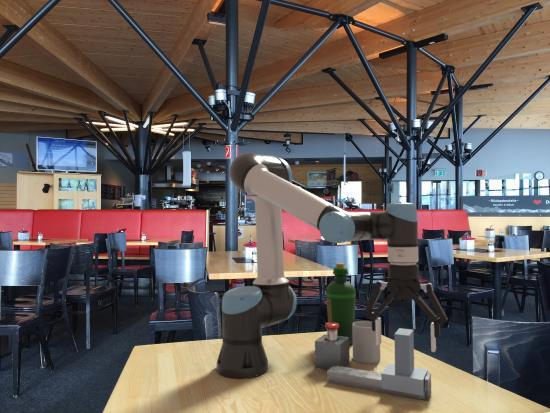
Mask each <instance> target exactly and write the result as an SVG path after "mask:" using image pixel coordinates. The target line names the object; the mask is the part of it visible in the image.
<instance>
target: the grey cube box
mask: <svg viewBox="0 0 550 413" xmlns="http://www.w3.org/2000/svg"><path fill="white" fill-rule="evenodd" d="M350 357H351V356H350V345H349V337H343V336H337V342H334V341H327V333H326V334H325V333H324V334H322V335H321V336H320V337H319V338H317V339H316V340H314V364H315V365H314V369H318V370H325V371H328V370H329V369H330V368H331V367H332V366H333V365H335V366H341V367H347V368H348V366H349V365H350Z"/></svg>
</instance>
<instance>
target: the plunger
mask: <svg viewBox="0 0 550 413" xmlns="http://www.w3.org/2000/svg"><path fill="white" fill-rule="evenodd" d="M324 326H325V329H326V334H327V341H334V342H337V329H338V328H339V324H338V323H334V322H329V323H328V322H325V325H324Z"/></svg>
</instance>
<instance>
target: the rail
mask: <svg viewBox="0 0 550 413" xmlns="http://www.w3.org/2000/svg"><path fill="white" fill-rule="evenodd" d="M326 373H327V374H326V377H327V378H326V379H327V380H326V382H327V383H329V384H334V385H340V386H346V387H351V388H356V389H362V390H368V391H373V392H379V393H383V394H384V393H385V394H390V395H395V396H400V397H401V396H402V397H406V398H412V399H416V400H417V399H418V400H422V401H423V400H424V401H430V398H431V395H432V373H431V372H428V373H427V375H426V378H425V385H424V395H423V396H421V395H416V394H410V393H404V392H399V391H393V390H387V389H382V382H381V373H382V372H377V371H371V370H370V371H369V370H366V369H359V368H353V367H352V368H351V367H348V366H347V367H341V366H335V365H333V366H332V367H331V368H330V369H329V370H326Z"/></svg>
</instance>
